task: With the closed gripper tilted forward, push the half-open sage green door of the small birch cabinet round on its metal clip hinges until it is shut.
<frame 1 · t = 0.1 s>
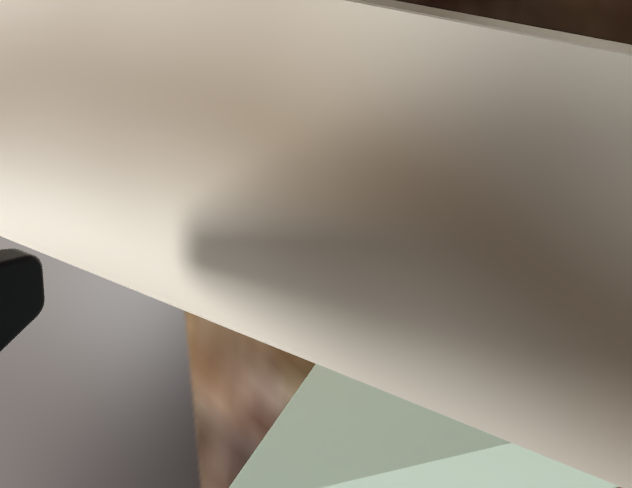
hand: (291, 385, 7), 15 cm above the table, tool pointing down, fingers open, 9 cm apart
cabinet: (464, 103, 19), on the table
door: (441, 396, 17), point 5 cm above the table, hinge at 45.0°
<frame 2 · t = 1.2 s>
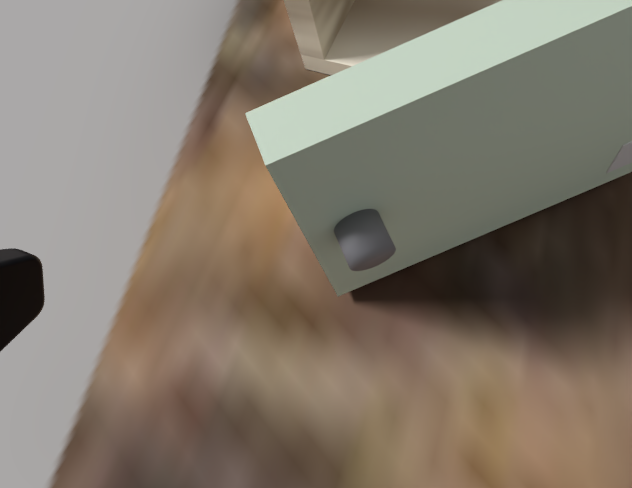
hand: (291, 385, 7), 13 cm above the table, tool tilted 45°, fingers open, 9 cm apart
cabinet: (488, 56, 24), on the table
door: (499, 163, 16), point 6 cm above the table, hinge at 45.0°
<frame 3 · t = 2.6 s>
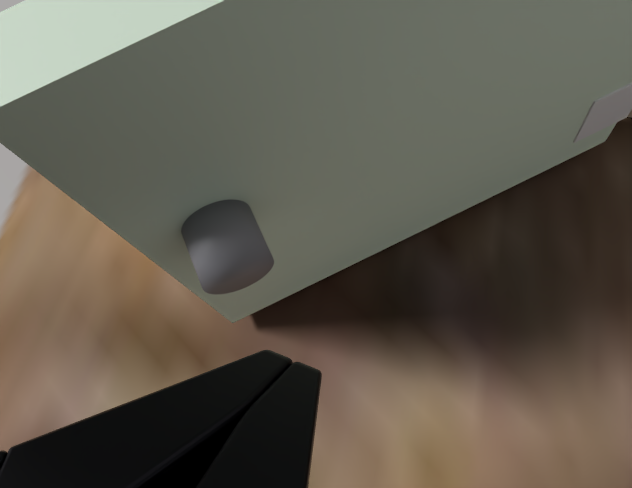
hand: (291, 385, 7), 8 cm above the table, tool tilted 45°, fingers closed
door: (425, 126, 11), point 6 cm above the table, hinge at 45.0°
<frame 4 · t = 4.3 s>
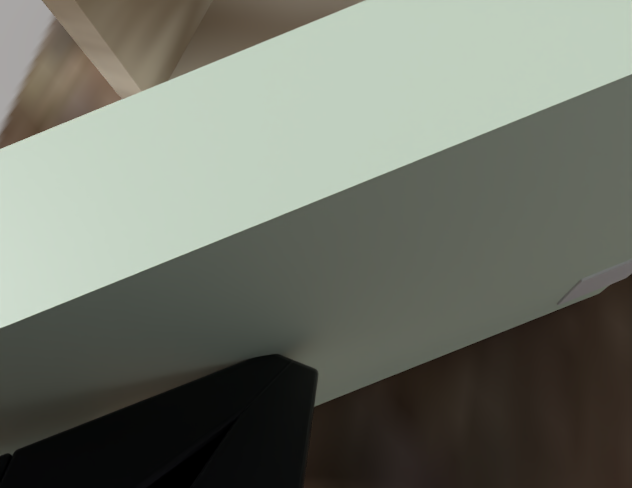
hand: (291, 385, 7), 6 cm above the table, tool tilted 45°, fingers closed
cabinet: (392, 99, 16), on the table
door: (346, 336, 8), point 6 cm above the table, hinge at 41.9°, touching gripper
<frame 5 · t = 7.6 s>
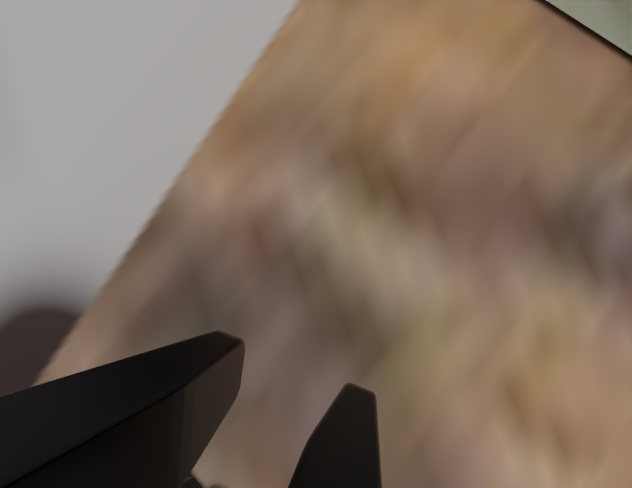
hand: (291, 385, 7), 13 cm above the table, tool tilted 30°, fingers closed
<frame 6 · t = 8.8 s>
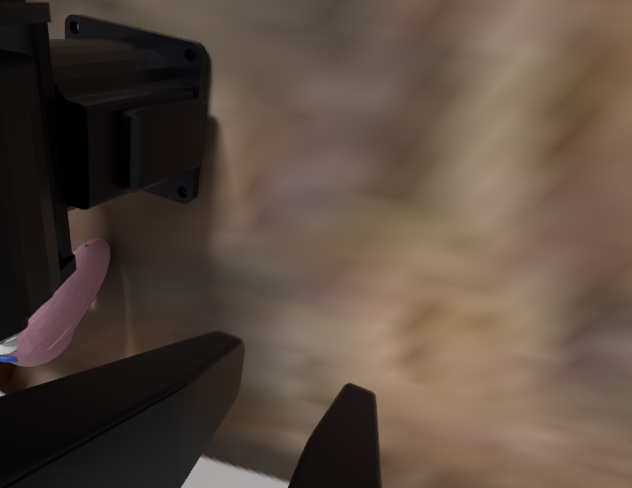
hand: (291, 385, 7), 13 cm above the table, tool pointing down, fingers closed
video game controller: (45, 249, 28), on the table
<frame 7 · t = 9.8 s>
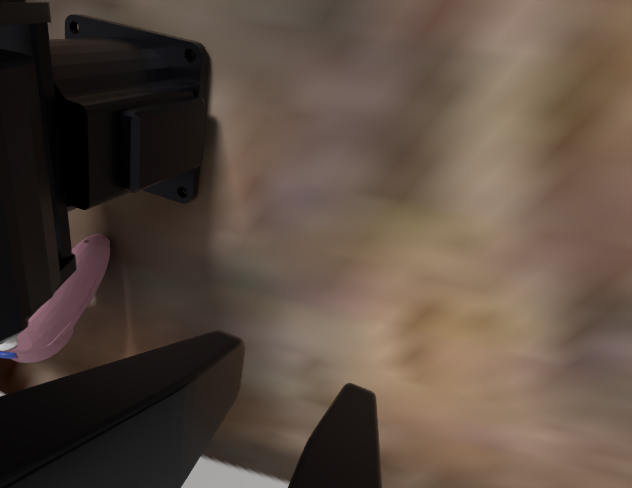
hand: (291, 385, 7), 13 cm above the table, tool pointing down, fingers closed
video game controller: (44, 245, 28), on the table
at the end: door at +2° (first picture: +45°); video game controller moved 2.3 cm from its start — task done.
